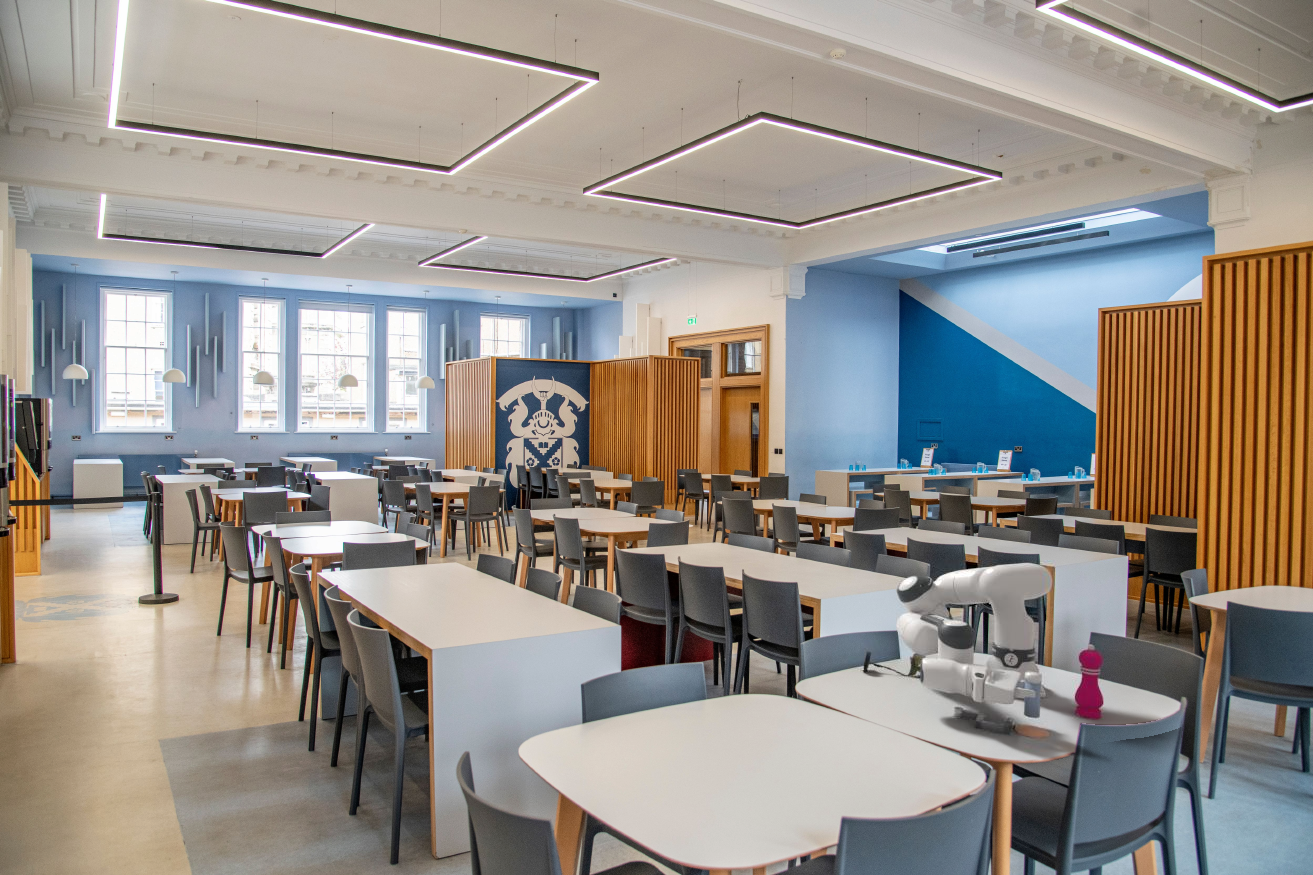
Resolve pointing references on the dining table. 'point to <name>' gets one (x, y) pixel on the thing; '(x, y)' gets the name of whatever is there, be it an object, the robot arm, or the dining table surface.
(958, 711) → the rail
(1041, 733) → the coaster
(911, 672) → the artificial flower
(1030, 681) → the shaker
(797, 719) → the dining table surface
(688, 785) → the dining table surface
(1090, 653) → the pepper mill
